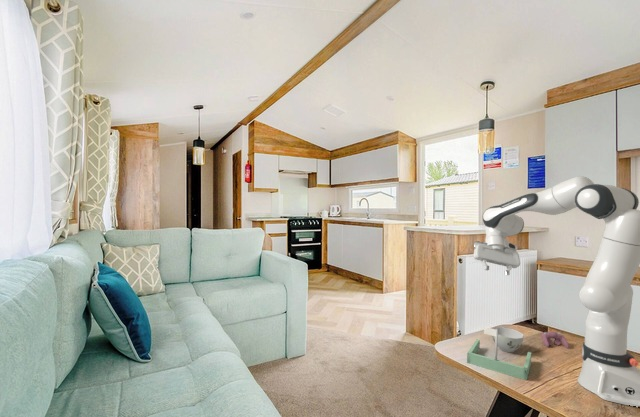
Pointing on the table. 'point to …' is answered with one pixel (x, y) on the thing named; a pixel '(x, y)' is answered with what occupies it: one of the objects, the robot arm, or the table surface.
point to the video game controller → (557, 336)
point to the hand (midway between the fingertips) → (497, 272)
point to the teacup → (508, 339)
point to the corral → (496, 364)
